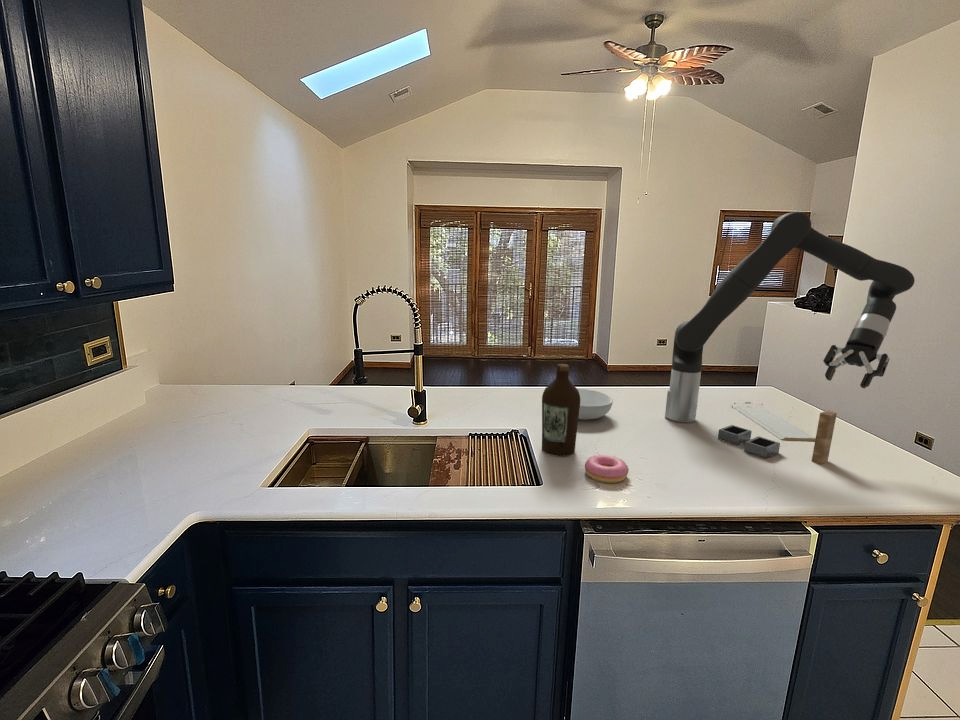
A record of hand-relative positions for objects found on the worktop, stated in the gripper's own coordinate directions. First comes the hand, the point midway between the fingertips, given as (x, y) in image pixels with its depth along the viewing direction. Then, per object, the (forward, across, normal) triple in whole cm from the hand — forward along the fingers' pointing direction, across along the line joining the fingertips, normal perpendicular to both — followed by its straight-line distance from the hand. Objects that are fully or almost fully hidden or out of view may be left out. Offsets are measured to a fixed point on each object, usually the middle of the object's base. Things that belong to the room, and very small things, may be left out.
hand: (844, 383), depth 140 cm
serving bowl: (+41, -60, -24) cm, 76 cm away
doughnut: (+55, -22, -46) cm, 75 cm away
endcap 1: (+26, -20, -2) cm, 33 cm away
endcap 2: (+28, -10, -5) cm, 30 cm away
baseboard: (+14, -23, +19) cm, 32 cm away
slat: (+23, +2, +2) cm, 23 cm away
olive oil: (+55, -41, -46) cm, 83 cm away
